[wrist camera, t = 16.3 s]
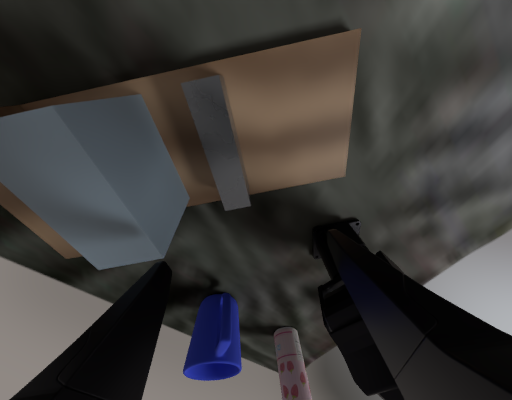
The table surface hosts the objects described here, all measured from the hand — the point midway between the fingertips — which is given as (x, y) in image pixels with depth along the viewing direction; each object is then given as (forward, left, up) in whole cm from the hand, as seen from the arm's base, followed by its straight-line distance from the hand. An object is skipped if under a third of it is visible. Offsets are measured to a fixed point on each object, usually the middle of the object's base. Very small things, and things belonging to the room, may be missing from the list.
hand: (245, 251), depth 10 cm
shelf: (+3, +3, -12) cm, 12 cm away
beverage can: (-44, -1, -12) cm, 45 cm away
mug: (-24, +9, -12) cm, 28 cm away
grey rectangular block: (+3, +1, -10) cm, 11 cm away
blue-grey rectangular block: (+3, +9, -10) cm, 14 cm away
